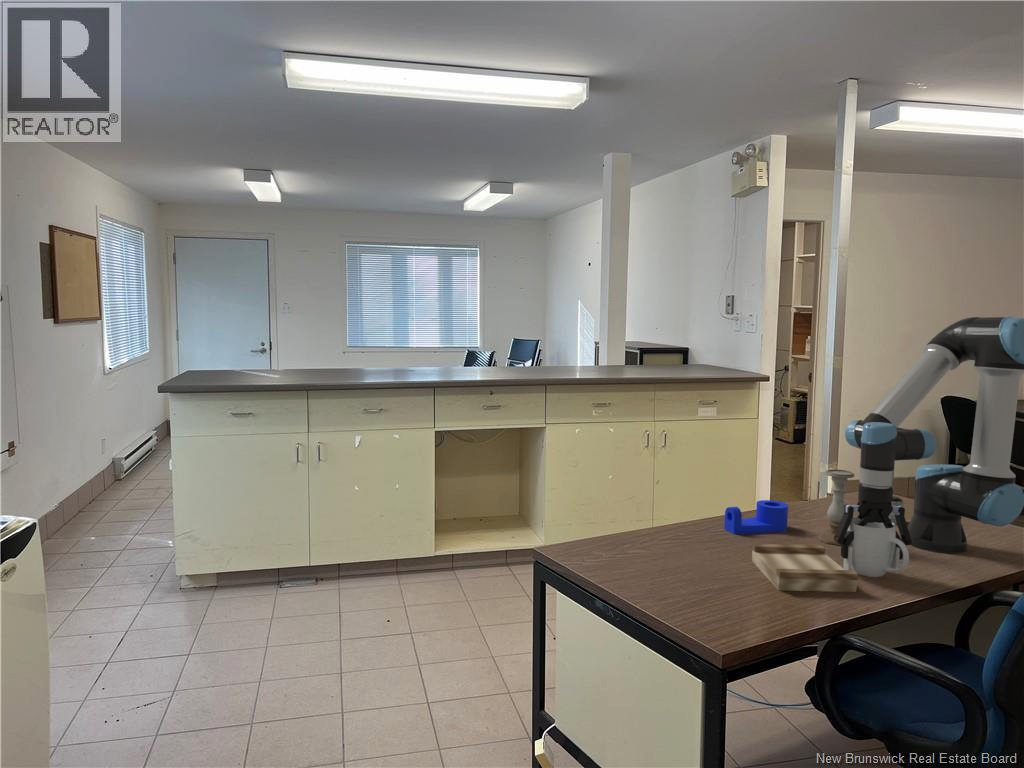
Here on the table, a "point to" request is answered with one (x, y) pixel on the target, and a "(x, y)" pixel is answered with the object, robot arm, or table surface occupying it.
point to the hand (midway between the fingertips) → (870, 571)
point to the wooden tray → (802, 568)
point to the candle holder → (836, 503)
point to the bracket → (758, 518)
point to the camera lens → (895, 502)
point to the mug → (875, 549)
